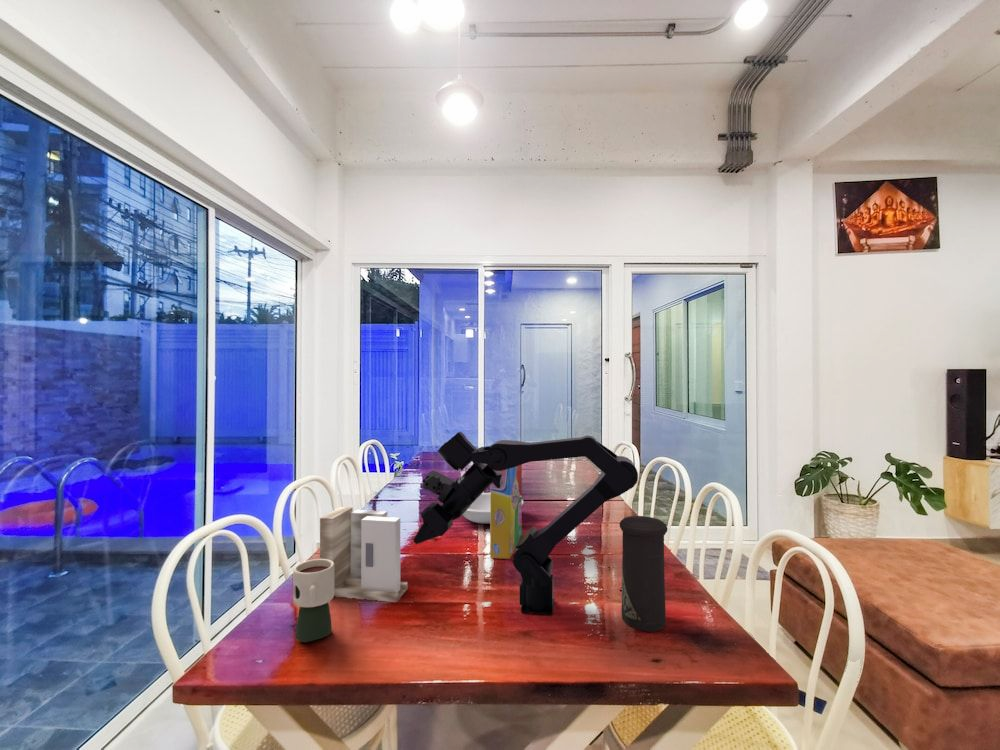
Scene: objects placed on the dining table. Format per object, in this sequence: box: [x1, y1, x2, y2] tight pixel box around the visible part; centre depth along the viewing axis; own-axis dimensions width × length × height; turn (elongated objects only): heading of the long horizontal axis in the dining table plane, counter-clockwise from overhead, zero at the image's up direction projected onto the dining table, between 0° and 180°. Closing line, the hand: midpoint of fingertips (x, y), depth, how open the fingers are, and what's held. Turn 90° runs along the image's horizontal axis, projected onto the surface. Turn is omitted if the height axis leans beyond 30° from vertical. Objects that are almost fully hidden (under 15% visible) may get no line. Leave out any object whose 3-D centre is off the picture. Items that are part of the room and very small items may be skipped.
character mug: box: [292, 558, 335, 643], centre depth 85 cm, size 11×7×13 cm, turn 20°
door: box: [361, 516, 401, 593], centre depth 102 cm, size 8×3×16 cm, turn 80°
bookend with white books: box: [319, 506, 409, 603], centre depth 104 cm, size 18×10×17 cm, turn 80°
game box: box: [489, 464, 523, 560], centre depth 131 cm, size 21×6×27 cm, turn 168°
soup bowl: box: [461, 492, 524, 525], centre depth 155 cm, size 24×24×7 cm
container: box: [619, 515, 668, 632], centre depth 90 cm, size 9×9×20 cm
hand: (422, 535), depth 101 cm, fingers open, 9 cm apart
